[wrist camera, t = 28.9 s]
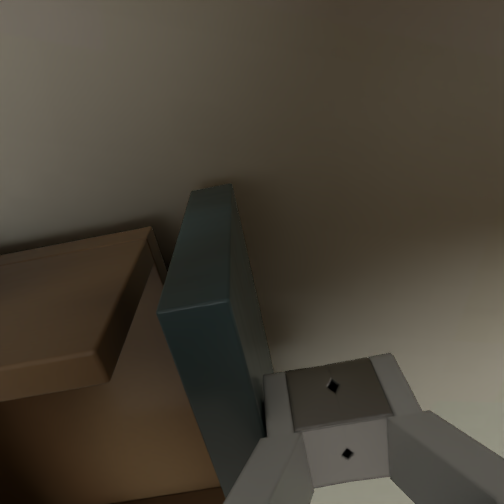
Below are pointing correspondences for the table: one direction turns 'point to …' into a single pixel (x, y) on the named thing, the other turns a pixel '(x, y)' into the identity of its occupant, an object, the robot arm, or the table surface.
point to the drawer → (132, 365)
